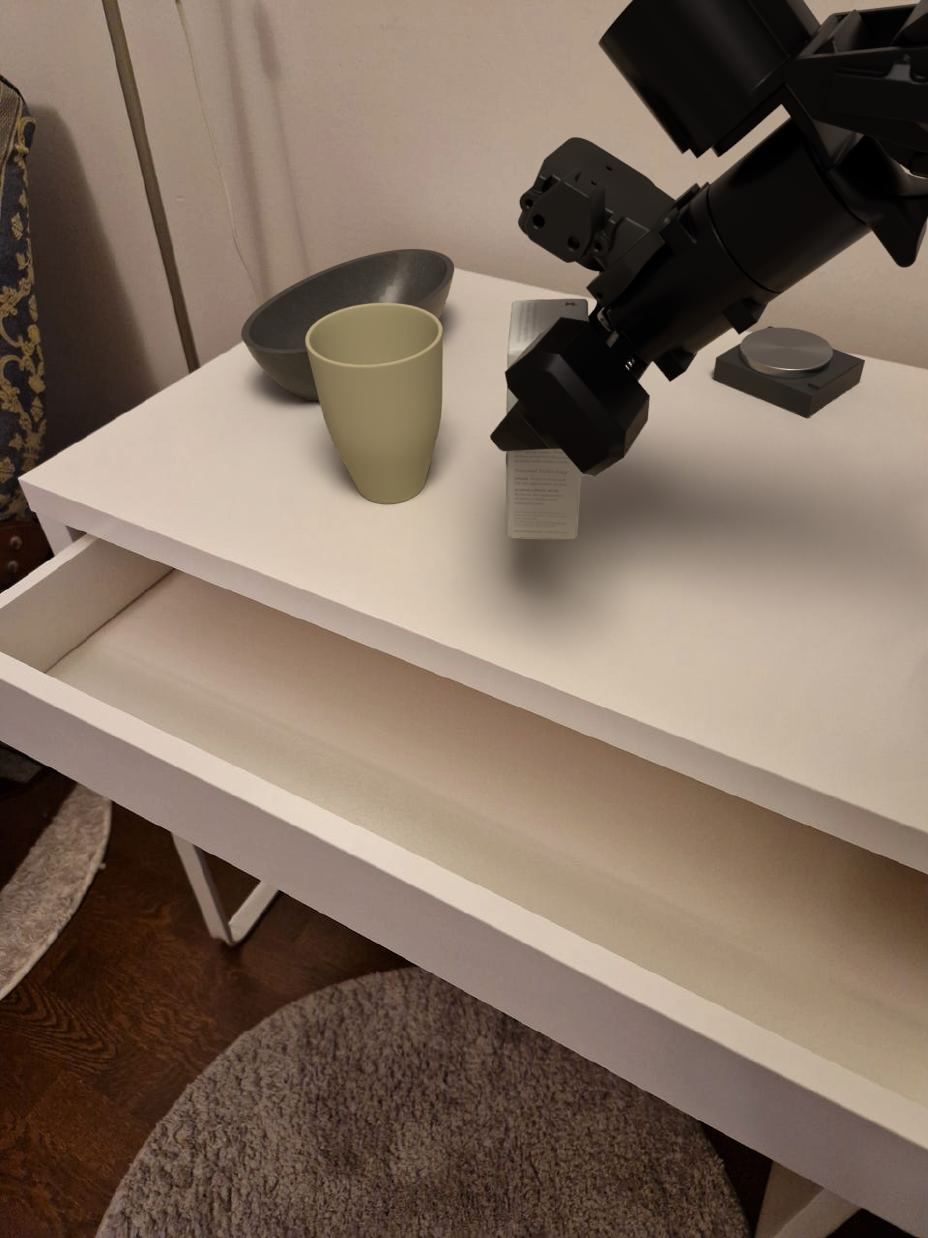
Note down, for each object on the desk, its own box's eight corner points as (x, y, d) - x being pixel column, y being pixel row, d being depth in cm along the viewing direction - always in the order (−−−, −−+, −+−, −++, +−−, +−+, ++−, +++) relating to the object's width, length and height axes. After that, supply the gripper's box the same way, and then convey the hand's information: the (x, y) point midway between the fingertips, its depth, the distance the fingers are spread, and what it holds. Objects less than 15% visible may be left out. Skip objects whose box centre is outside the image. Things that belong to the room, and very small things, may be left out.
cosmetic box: (510, 482, 61) (505, 295, 52) (582, 482, 60) (589, 294, 52) (504, 543, 56) (498, 349, 48) (582, 543, 56) (589, 348, 47)
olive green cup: (484, 470, 72) (479, 318, 64) (395, 537, 67) (377, 380, 59) (377, 425, 77) (360, 279, 69) (286, 483, 72) (256, 332, 64)
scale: (859, 382, 79) (868, 350, 77) (807, 418, 75) (814, 386, 74) (765, 346, 84) (771, 316, 82) (712, 379, 80) (717, 348, 79)
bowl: (220, 397, 82) (204, 329, 78) (393, 301, 94) (386, 237, 90) (322, 442, 76) (310, 370, 72) (492, 333, 88) (490, 266, 84)
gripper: (697, 32, 47) (496, 234, 58) (550, 154, 35) (333, 378, 46) (831, 216, 49) (614, 375, 61) (738, 389, 37) (489, 546, 49)
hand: (523, 410), depth 54 cm, fingers closed on cosmetic box, 7 cm apart
